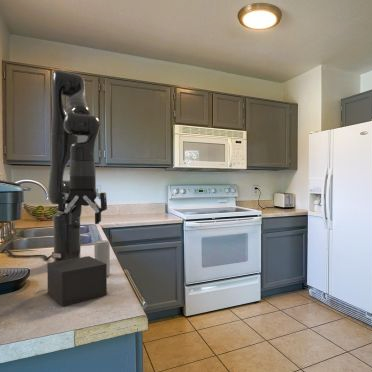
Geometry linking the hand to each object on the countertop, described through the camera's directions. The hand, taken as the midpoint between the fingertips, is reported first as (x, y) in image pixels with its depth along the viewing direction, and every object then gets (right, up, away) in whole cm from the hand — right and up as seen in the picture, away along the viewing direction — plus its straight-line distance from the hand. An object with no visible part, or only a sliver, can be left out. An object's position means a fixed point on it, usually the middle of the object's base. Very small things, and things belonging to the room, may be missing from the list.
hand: (83, 224), depth 103 cm
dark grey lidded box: (+4, -19, -12) cm, 23 cm away
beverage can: (+3, -19, +6) cm, 20 cm away
